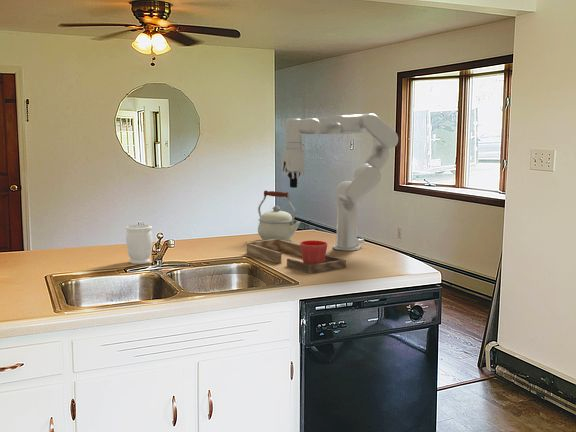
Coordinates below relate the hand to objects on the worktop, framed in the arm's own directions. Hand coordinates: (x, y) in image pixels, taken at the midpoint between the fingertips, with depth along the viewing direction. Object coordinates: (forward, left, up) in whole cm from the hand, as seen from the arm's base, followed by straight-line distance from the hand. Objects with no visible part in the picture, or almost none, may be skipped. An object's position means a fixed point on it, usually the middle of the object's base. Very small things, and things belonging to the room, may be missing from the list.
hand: (293, 187), depth 267 cm
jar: (+67, -16, -29) cm, 75 cm away
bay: (+12, +31, -29) cm, 44 cm away
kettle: (-8, -22, -29) cm, 38 cm away
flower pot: (+12, +30, -29) cm, 44 cm away
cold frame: (+12, +6, -29) cm, 32 cm away
